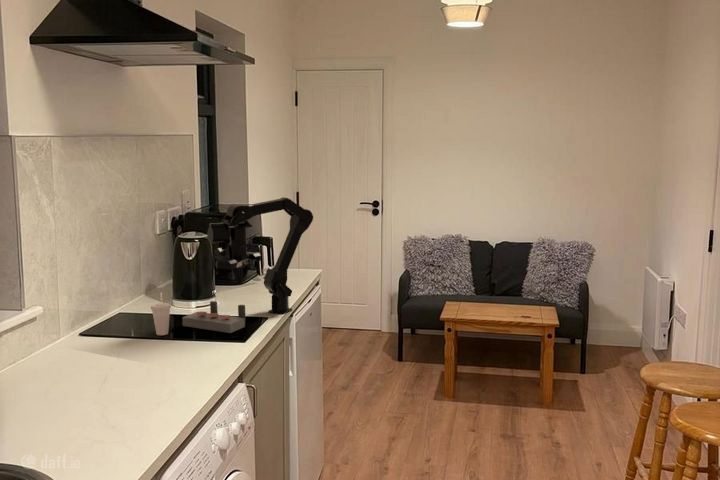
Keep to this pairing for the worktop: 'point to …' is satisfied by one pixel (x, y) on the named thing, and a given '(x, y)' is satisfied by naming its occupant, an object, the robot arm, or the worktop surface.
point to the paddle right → (225, 316)
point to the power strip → (213, 322)
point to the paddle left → (201, 313)
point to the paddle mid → (213, 315)
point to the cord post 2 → (241, 311)
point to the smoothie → (161, 316)
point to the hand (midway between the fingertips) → (240, 284)
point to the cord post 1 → (213, 307)
